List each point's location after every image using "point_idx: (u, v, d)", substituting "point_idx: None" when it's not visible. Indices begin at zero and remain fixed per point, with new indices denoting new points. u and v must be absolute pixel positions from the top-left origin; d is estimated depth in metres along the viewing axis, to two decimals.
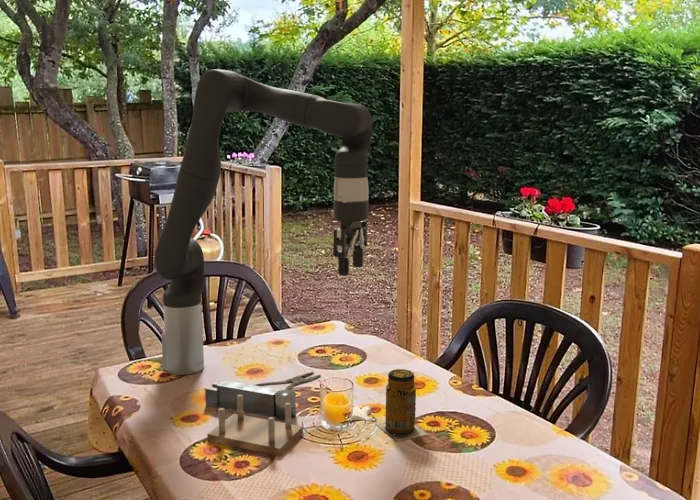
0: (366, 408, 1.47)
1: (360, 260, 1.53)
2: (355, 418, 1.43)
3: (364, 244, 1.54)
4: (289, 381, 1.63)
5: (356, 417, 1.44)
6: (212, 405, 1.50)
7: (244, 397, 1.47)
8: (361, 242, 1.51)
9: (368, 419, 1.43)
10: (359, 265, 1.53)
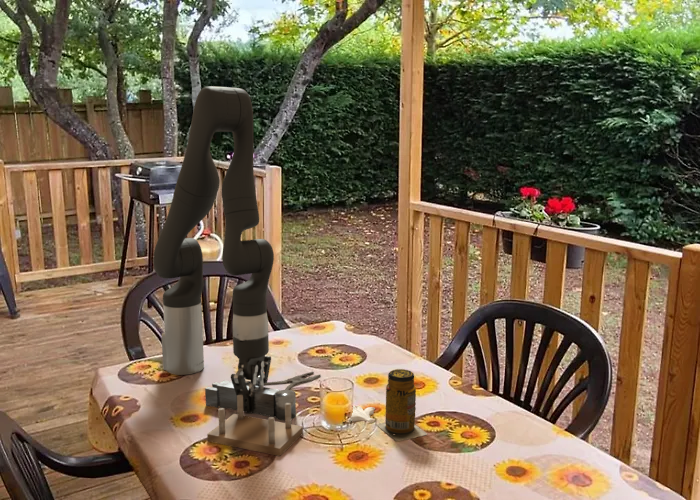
0: (369, 409, 1.46)
1: None
2: (357, 419, 1.43)
3: (263, 380, 1.50)
4: (289, 381, 1.63)
5: (357, 418, 1.43)
6: (212, 405, 1.50)
7: None
8: (260, 378, 1.47)
9: (370, 420, 1.43)
10: None
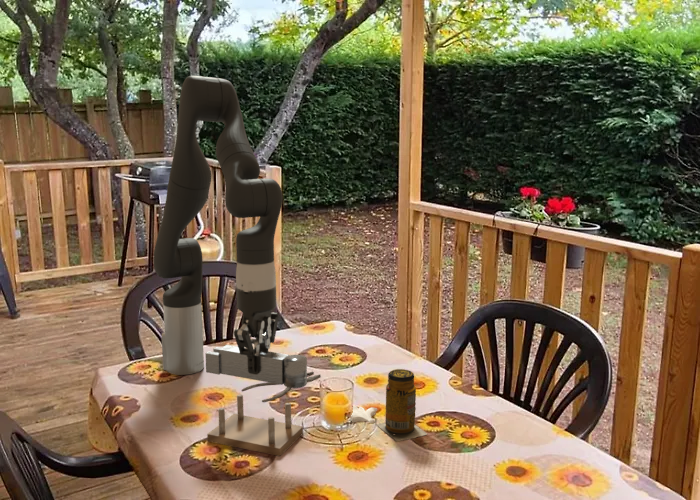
0: (370, 409, 1.46)
1: None
2: (358, 419, 1.43)
3: (270, 339, 1.34)
4: None
5: (359, 418, 1.43)
6: (213, 372, 1.34)
7: None
8: (267, 336, 1.32)
9: (371, 420, 1.42)
10: None
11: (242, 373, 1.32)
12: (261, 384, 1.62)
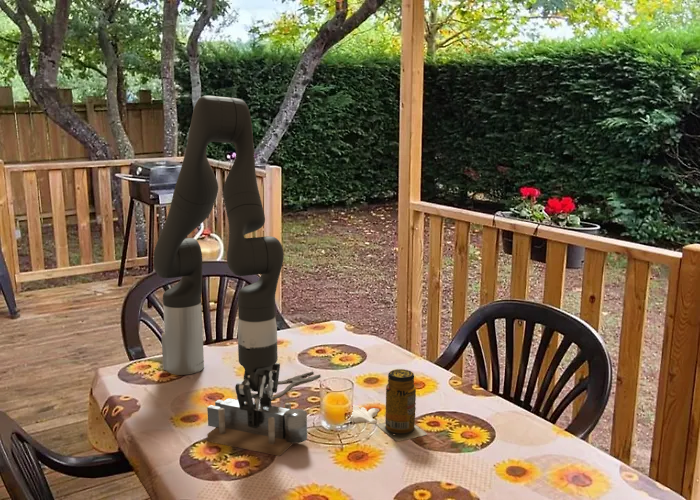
0: (372, 410, 1.46)
1: None
2: (359, 419, 1.43)
3: (273, 390, 1.37)
4: (289, 381, 1.63)
5: (360, 419, 1.43)
6: (215, 425, 1.37)
7: None
8: (269, 388, 1.34)
9: (372, 421, 1.42)
10: None
11: (243, 427, 1.35)
12: None
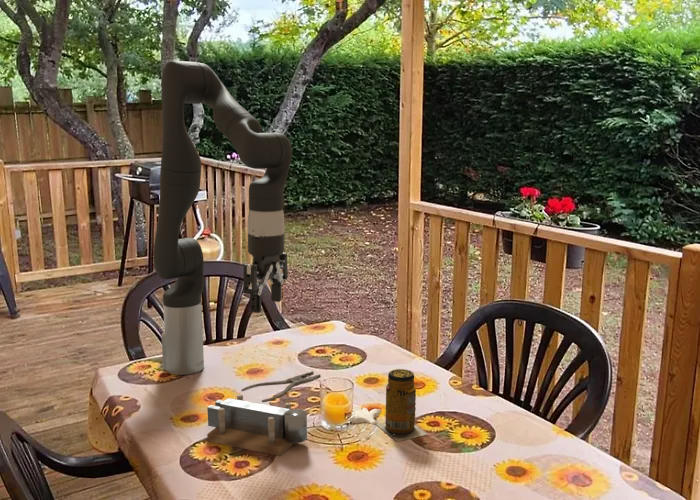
0: (374, 411, 1.45)
1: (278, 294, 1.46)
2: (360, 420, 1.42)
3: (283, 277, 1.47)
4: (289, 381, 1.63)
5: (361, 419, 1.43)
6: (215, 425, 1.37)
7: (250, 417, 1.34)
8: (278, 276, 1.44)
9: (373, 422, 1.42)
10: (277, 299, 1.47)
11: (243, 427, 1.35)
12: (261, 384, 1.62)
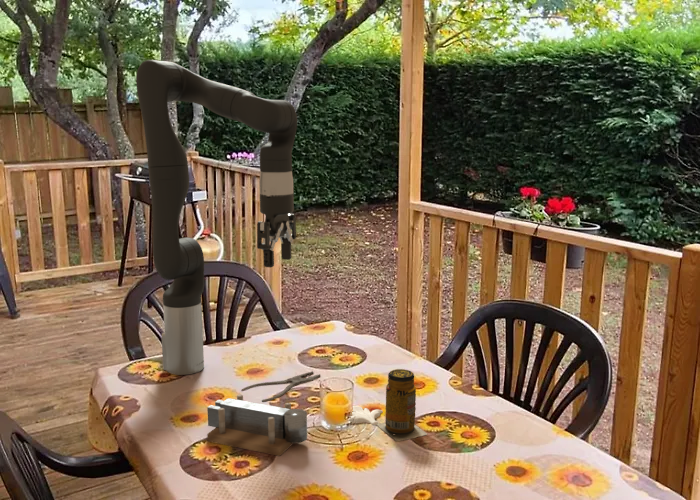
0: (375, 411, 1.45)
1: (288, 252, 1.57)
2: (361, 420, 1.42)
3: (292, 237, 1.58)
4: (289, 381, 1.63)
5: (362, 420, 1.42)
6: (215, 425, 1.37)
7: (250, 417, 1.34)
8: (288, 235, 1.55)
9: (373, 422, 1.41)
10: (287, 257, 1.58)
11: (243, 427, 1.35)
12: (261, 384, 1.62)
